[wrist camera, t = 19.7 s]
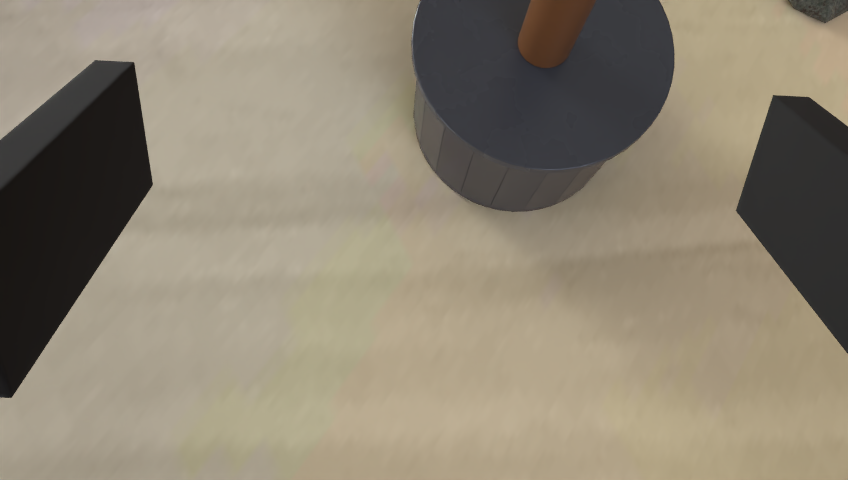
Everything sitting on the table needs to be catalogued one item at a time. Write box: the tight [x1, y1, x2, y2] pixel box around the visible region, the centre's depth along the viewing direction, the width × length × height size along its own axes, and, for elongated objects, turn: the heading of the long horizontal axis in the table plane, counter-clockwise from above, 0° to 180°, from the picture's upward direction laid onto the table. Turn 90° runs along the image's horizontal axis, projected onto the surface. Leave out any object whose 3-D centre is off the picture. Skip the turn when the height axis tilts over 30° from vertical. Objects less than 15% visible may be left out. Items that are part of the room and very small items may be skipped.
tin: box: [414, 79, 606, 212], centre depth 43 cm, size 13×13×9 cm
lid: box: [411, 0, 674, 173], centre depth 34 cm, size 14×14×10 cm
